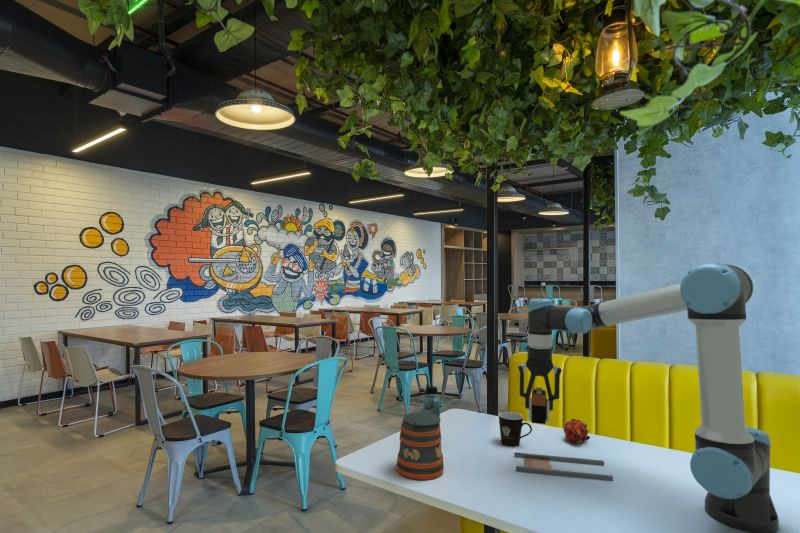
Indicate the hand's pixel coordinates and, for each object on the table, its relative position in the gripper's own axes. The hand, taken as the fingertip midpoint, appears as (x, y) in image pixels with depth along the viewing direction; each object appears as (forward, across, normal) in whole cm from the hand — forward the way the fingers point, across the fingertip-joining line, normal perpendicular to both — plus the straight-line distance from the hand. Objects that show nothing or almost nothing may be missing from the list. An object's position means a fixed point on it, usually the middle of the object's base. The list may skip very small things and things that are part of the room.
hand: (538, 419), depth 145 cm
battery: (+1, 0, 0) cm, 1 cm away
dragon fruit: (+15, -16, -25) cm, 33 cm away
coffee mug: (+15, +7, -16) cm, 23 cm away
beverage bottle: (+15, +36, -11) cm, 41 cm away
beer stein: (+15, +36, +10) cm, 40 cm away
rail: (+15, -7, 0) cm, 16 cm away
